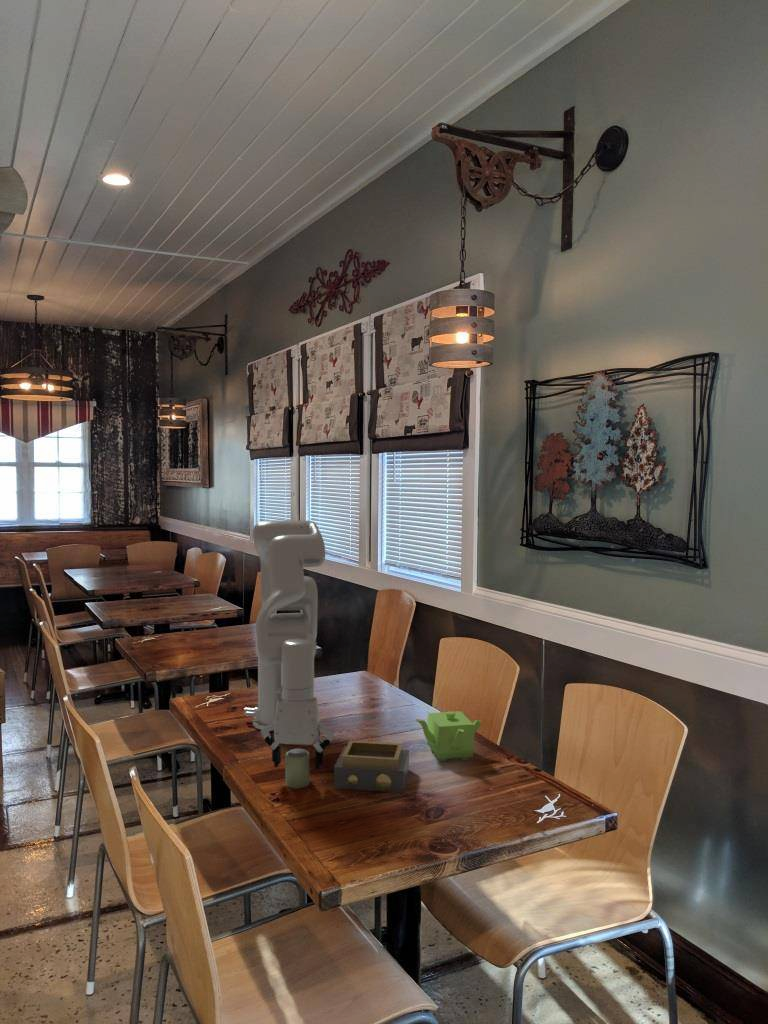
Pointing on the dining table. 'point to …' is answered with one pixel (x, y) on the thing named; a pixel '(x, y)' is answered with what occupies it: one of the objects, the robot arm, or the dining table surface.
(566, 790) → the dining table surface
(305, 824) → the dining table surface
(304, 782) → the pale green cup
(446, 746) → the kettle
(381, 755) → the toy stove
